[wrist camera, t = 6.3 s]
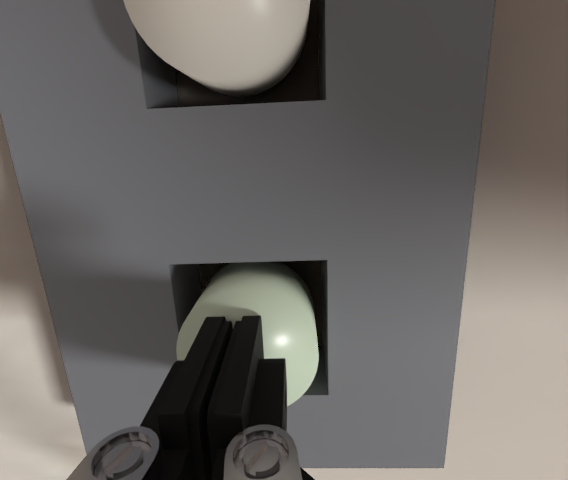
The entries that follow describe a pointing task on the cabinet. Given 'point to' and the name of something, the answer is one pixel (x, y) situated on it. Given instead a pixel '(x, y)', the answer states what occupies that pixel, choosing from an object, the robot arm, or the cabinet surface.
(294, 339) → the sage button
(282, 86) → the cabinet surface
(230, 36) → the cream button
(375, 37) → the button panel
